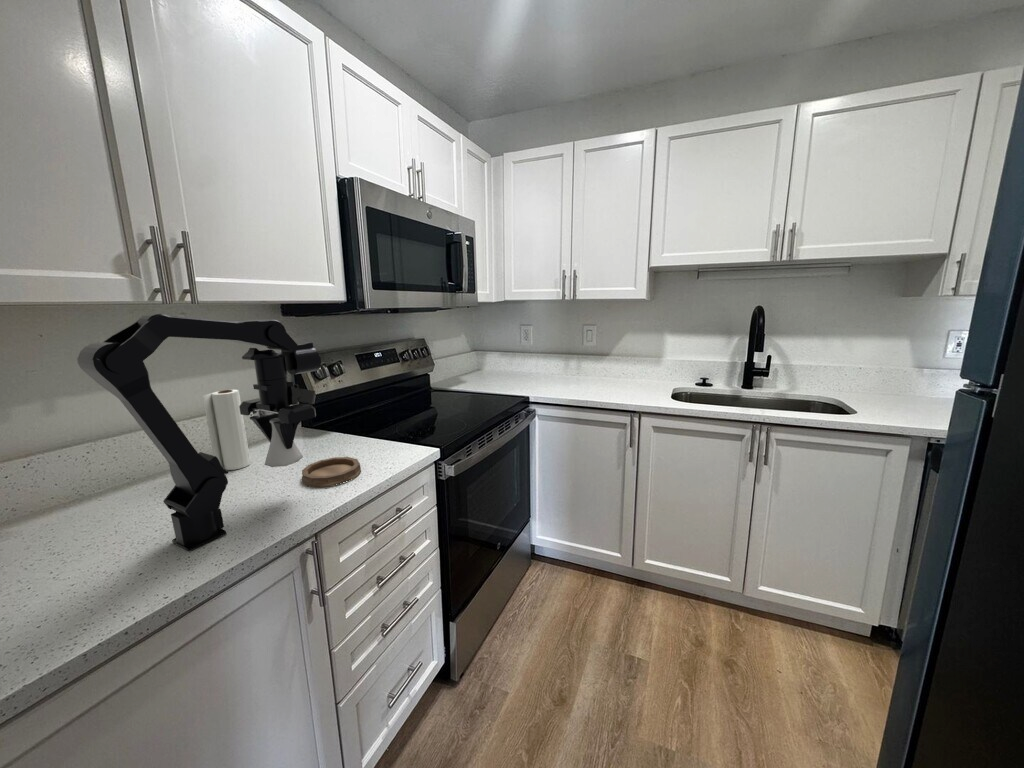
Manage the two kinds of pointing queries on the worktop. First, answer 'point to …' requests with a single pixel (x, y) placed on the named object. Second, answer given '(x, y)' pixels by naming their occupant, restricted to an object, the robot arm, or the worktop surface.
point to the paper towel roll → (227, 429)
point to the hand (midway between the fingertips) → (282, 446)
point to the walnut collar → (330, 471)
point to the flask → (281, 451)
